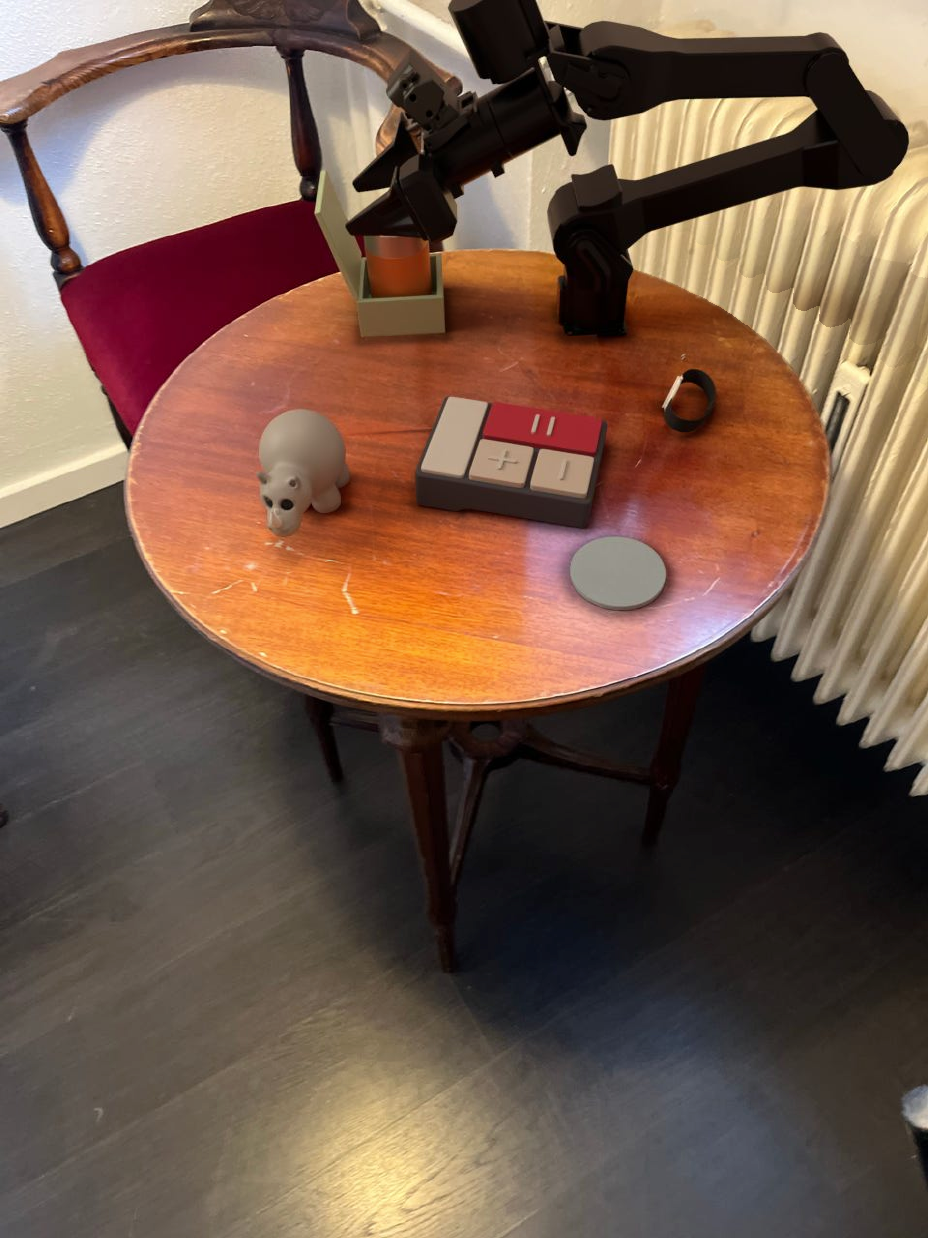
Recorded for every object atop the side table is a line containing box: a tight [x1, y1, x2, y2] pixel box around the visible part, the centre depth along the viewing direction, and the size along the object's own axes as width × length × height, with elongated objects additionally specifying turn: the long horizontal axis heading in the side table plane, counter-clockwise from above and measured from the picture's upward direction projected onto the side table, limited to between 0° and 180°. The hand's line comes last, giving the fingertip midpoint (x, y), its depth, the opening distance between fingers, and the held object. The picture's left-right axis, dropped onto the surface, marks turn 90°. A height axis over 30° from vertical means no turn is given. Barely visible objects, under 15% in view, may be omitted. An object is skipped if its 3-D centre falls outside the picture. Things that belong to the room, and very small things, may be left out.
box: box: [355, 252, 446, 338], centre depth 95 cm, size 9×9×5 cm
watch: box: [661, 368, 717, 433], centre depth 83 cm, size 8×5×4 cm, turn 156°
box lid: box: [314, 169, 362, 300], centre depth 89 cm, size 9×9×1 cm
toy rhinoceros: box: [255, 408, 351, 538], centre depth 74 cm, size 7×12×8 cm, turn 168°
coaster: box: [569, 536, 667, 611], centre depth 71 cm, size 8×8×1 cm
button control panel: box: [414, 396, 608, 529], centre depth 78 cm, size 11×4×15 cm
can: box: [363, 236, 432, 298], centre depth 92 cm, size 6×6×10 cm
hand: (351, 207), depth 84 cm, fingers open, 9 cm apart
